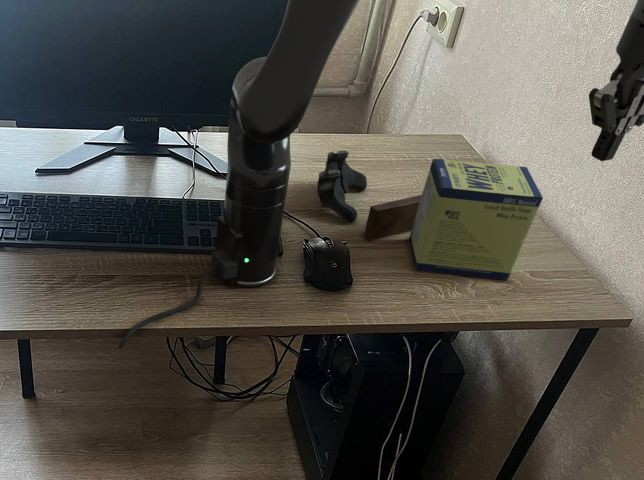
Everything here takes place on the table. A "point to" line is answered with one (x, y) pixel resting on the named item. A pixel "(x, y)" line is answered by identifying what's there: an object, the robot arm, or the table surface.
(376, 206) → the bar
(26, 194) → the table surface
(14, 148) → the table surface
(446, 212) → the protein box
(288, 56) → the robot arm
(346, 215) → the game controller
